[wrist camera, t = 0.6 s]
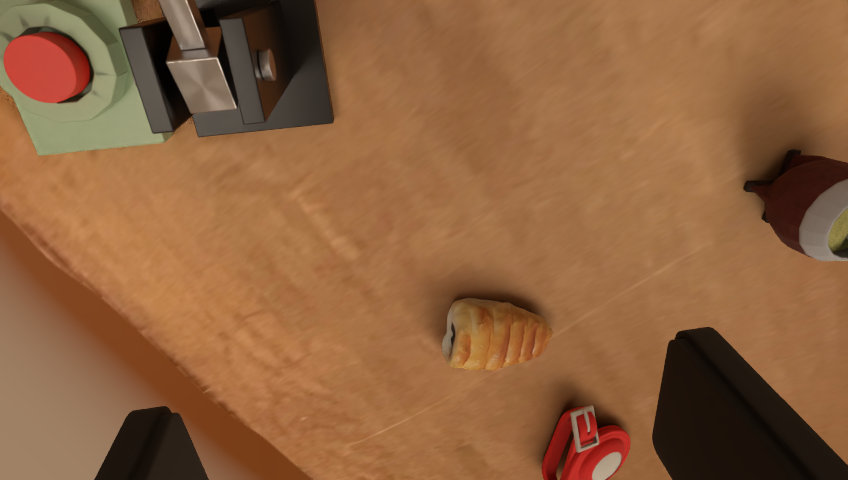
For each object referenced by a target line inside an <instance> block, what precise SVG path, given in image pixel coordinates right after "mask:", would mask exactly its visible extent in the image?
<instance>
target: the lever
mask: <svg viewBox="0 0 848 480" xmlns="http://www.w3.org/2000/svg"><path fill="white" fill-rule="evenodd" d="M158 1H159V4H160V6H161V8H162V10H163V13H164V15H165V17H166V19H167V21H168V24H169V26H170V28H171V30H172V33H173V36H172V40H171V43H170V47H169V51H168V55H167V58H166V64H167V66H168V69H169V71H170V73H171V75H172V77H173V79H174V81H175V83H176V85H177V87H178V89H179V91H180V93H181V95H182V97H183V99H184V101H185V104H186V106H187V108H188V110H189V112H190V113H191V114H193V113H203V112H213V111H223V110H233V109H237V108H238V99H237V95H236V91H235V87H234V82H233V78H232V74H231V70H230V66H229V62H228V58H227V53H226V49H225V45H224V41H223V37H222V33H221V29H220V27H211V28H205V25H204V23H203V20H202V17H201V15H200V12H199V10H198V7H197V5H196V2H195V0H158Z"/></svg>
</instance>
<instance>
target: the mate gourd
mask: <svg viewBox="0 0 848 480" xmlns="http://www.w3.org/2000/svg"><path fill="white" fill-rule="evenodd" d="M800 154H801V151H800V150H793V149H791V150H788V153H787V155H786V157H785V160H784V162H783V165H782V168H781V170H780V173H779V175H778V177H777V179H776V180H775V181H747V182H746V183H745V186H744V190H745V191H746V192H755V193H756V194H757V195H758V196H759V197H760V198H761V199H762V200H763V201H765V212H764V215H763V218H762V219H763V220H764V221H765V222H766V223H770V225H771V227H772V228H773V230H774V231H775V233H776V234H777V236H778V237H779V239H780V240H781V241H782V242H783V243H784V244H786V245H787V246H788V247H790V248H792V249H794V250H796V251H798V252H800V253H802V254H804V255H806V256H808V257H812V258H815V259H817V260H819V261H848V163H846V162H842V161H837V160H833V159H829V158H826V157H822V156H807V155H800Z"/></svg>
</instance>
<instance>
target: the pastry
mask: <svg viewBox="0 0 848 480" xmlns="http://www.w3.org/2000/svg"><path fill="white" fill-rule="evenodd" d="M552 334H553V331H552V329H551V327H550V326H549V325H548V323H547V322H546V320H545V319H544V318H543V317H542V316H539V315H536V314H534V313H531V312H528V311H527V310H525V309H521V308H518V307H516V306H514V305H512V304H511V303H509V302H503V303H502V302H499V301H492V300H487V299H486V300H480V299H476V298H465V299H461V300H457V301H455V302H454V303H453V304H452V306H451V308H450V310H449V313H448V316H447V333H446V335H445V336H444V338H443V341H442V352H443V355H444V357H445V359H446V361H447V363H448V364H449V365H450V366H451V367H453V368H458V367H460V368H465V369H470V370H480V369H486V370H490V371H493V370H496V369H498V368H502V367H505V366H507V365H512V364H516V363H521V362H524V361H528V360H530V359H532V358H534V357H537V356H539V355H540V354H541V353H542V352H543V351H544V350H545V348H546V346H547V344H548V341H549V339H550V338H551V337H552Z"/></svg>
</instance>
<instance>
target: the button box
mask: <svg viewBox="0 0 848 480" xmlns="http://www.w3.org/2000/svg"><path fill="white" fill-rule="evenodd" d="M137 23H138V21H137V18H136V15H135V12H134V8H133V5H132V2H131V0H0V86H1V87H2V88H3V89H4V90H5V91H6V92H7V93H8V94H9V95H10V96H12V97H13V99H14V101H15V103H16V106H17V108H18V110H19V113H20V115H21V117H22V119H23V122H24V124H25V126H26V128H27V131H28V133H29V135H30V137H31V140H32V142H33V144H34V147H35V149H36V151H37V153H38V155H39V156H40V155H50V154H60V153H69V152H79V151H89V150H98V149H108V148H117V147H127V146H137V145H146V144H156V143H165V142H166V141H167V140H168V139H169V138H170V137H171V136H173V135H172V132H168V133H158V134H153V133H152V131H151V128H150V125H149V122H148V119H147V116H146V113H145V110H144V107H143V104H142V101H141V97H140V94H139V91H138V88H137V87H136V85H135V83H134V80H133V76H132V70H131V67H130V64H129V61H128V58H127V55H126V52H125V49H124V46H123V42H122V39H121V36H120V33H119V30H118V29H119V28H120V27H124V26H128V25H132V24H137ZM39 32H53V33H57V34H60V35H63V36H65V37H67V38H68V39H70V40H71V41H73V42H74V43H75V44H76V45H77V46H78V47H79V48H80V49H81V50H82V52H83V53H84V54H85V56H86V58H87V60H88V63H89V66H90V80H89V83H88V85H87V86H86V88H85V89H84V90H83V91H82V92H81V93H79V94H77V95H75V96H73V97H70V98H68V99H66V100H63V101H61V102H57V103H45V102H40V101H37V100H34V99H32V98H30V97H28V96H26V95H25V94H23V93H22V92H21V91H20V90H18V89H17V88H16V87H15V86H14V84H13V83H12V82H11V80H10V79H9V77H8V75H7V73H6V70H5V67H4V52H5V50H6V47H7V46H8V44H9V43H10V42H11V41H12V40H14V39H15V38H17V37H20V36H23V35H28V34H34V33H39Z"/></svg>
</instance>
